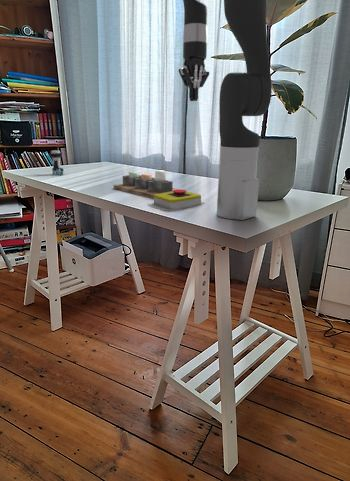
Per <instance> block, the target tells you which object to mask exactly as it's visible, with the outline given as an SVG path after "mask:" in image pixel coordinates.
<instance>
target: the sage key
mask: <svg viewBox="0 0 350 481" xmlns="http://www.w3.org/2000/svg"><path fill="white" fill-rule="evenodd" d="M139 173H140V172H138V171H128V175H129V177H139V175H140V174H139Z"/></svg>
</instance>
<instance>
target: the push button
mask: <svg viewBox="0 0 350 481" xmlns="http://www.w3.org/2000/svg"><path fill="white" fill-rule="evenodd" d="M48 154H49V157H50V158H51V159H52V165H53V166H52V168H51V171H52V175H53V176H55V175H56V176H63V175H64V168H62V166H61V158H62V157H63V152H61V151H60V150H51V151H50V152H49V153H48Z"/></svg>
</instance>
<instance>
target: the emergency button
mask: <svg viewBox="0 0 350 481" xmlns="http://www.w3.org/2000/svg"><path fill="white" fill-rule="evenodd" d="M176 189H177V190H173V192H168V193H162V194H155V195H154V199H153V202H152V203H148V204H147V206H149V207H151V208H154V209H156V210H157V209H158V210H160V211H163V212H170V211H176V210H180V209H186V207H187V208H191V207H195V206H202V205H205V204H206V203H205V202H203V201H202V195H201V194H199V193H195V192H191V191H187V190H186V189H179V188H176Z"/></svg>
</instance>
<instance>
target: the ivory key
mask: <svg viewBox="0 0 350 481" xmlns="http://www.w3.org/2000/svg"><path fill="white" fill-rule="evenodd" d="M166 173H167V172H166V170H163V169H162V170H161V169H159V170H154V178H155V182H158V183H162V182H166V180H167V179H166V176H167V174H166Z"/></svg>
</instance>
